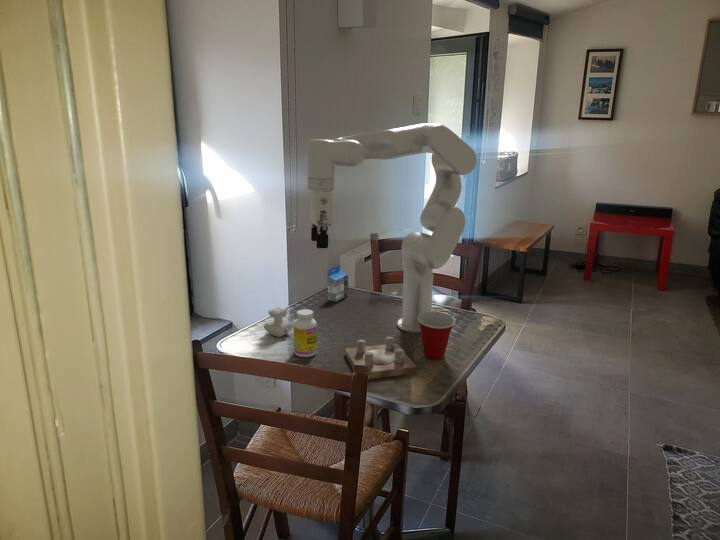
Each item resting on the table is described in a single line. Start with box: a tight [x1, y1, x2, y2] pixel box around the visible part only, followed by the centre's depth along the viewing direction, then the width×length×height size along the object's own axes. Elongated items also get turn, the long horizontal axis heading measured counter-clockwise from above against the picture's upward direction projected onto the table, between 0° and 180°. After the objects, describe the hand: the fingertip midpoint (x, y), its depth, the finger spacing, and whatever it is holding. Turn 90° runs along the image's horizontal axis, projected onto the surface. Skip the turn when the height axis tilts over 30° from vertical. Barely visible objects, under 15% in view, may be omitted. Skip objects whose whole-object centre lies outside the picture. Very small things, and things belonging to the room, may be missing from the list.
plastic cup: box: [417, 310, 456, 361], centre depth 155 cm, size 11×11×12 cm
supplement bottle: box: [293, 308, 318, 358], centre depth 156 cm, size 7×7×13 cm
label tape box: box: [326, 263, 349, 303], centre depth 204 cm, size 9×4×12 cm, turn 149°
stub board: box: [344, 336, 418, 380], centre depth 150 cm, size 16×16×6 cm
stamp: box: [263, 306, 294, 338], centre depth 170 cm, size 9×7×8 cm
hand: (319, 244), depth 155 cm, fingers open, 9 cm apart
